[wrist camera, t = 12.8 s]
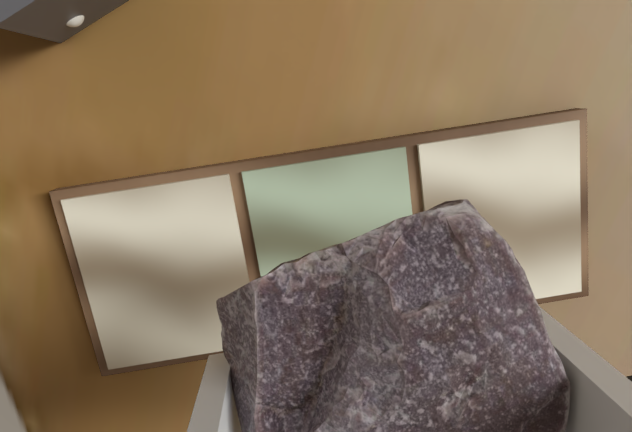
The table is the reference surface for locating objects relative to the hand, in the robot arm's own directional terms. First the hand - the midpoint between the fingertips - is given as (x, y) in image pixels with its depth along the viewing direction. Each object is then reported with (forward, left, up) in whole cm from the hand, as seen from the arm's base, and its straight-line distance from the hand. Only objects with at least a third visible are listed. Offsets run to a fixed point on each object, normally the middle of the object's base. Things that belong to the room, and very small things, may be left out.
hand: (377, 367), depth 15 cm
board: (0, 0, -13) cm, 13 cm away
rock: (0, 0, -1) cm, 1 cm away
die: (-17, -11, -13) cm, 24 cm away
